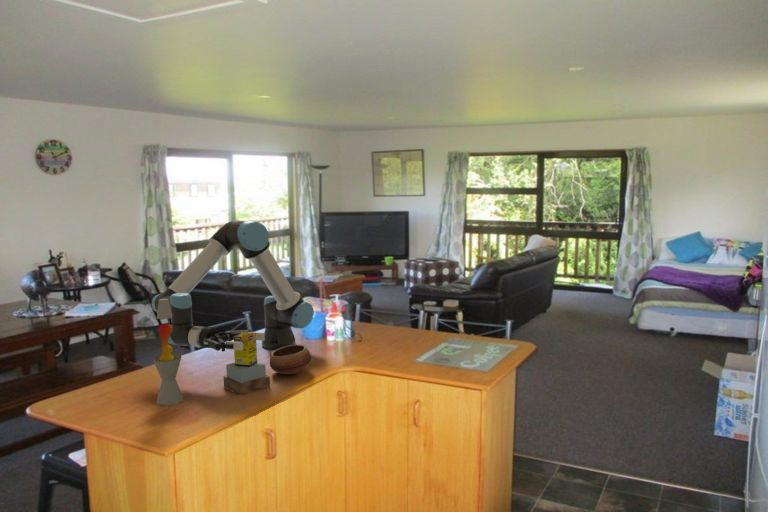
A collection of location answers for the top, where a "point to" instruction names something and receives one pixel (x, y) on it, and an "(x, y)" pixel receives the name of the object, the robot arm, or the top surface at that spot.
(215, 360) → the top surface
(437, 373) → the top surface
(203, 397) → the top surface
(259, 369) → the tower top block
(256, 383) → the tower base slab
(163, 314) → the lava lamp
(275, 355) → the bowl
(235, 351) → the supplement box
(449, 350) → the top surface
